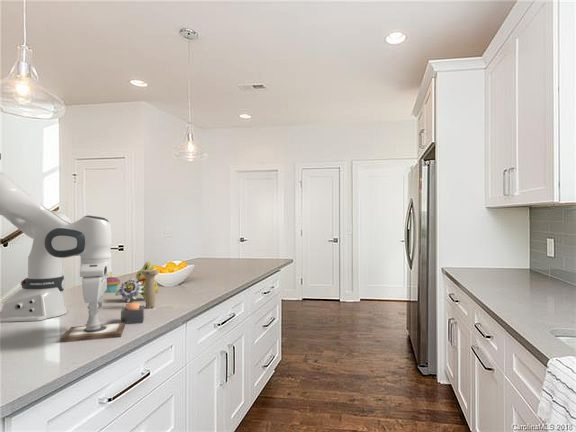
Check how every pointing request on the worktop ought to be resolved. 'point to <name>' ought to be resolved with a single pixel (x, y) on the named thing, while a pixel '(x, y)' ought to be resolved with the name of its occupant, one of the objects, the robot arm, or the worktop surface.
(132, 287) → the passion flower
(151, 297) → the handle
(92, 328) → the rook chess piece
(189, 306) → the worktop surface
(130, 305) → the button
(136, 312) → the button housing
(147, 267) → the yellow green figurine
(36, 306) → the robot arm
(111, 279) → the cupcake
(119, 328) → the board
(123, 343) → the worktop surface
